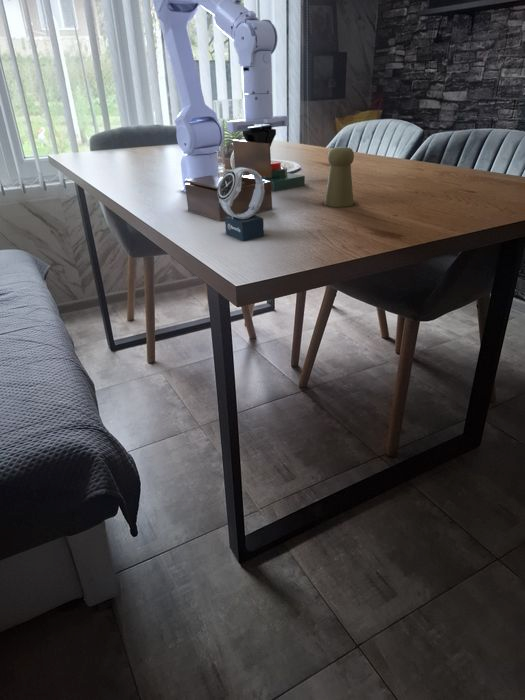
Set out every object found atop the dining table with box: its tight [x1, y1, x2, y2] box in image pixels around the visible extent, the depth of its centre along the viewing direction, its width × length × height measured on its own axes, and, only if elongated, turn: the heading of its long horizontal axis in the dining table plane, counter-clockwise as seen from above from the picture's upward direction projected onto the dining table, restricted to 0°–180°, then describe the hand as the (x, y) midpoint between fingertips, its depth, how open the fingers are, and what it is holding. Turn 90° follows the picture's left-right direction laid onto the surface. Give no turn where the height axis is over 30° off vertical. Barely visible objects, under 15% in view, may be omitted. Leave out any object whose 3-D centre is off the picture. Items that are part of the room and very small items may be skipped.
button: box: [271, 160, 282, 170], centre depth 119 cm, size 4×4×2 cm
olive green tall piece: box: [324, 146, 355, 208], centre depth 99 cm, size 6×6×11 cm
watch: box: [217, 167, 265, 242], centre depth 81 cm, size 6×8×11 cm
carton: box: [185, 175, 273, 222], centre depth 99 cm, size 13×12×6 cm
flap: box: [232, 139, 272, 178], centre depth 99 cm, size 6×12×1 cm
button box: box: [244, 165, 306, 192], centre depth 121 cm, size 12×10×4 cm
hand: (260, 166), depth 101 cm, fingers closed
